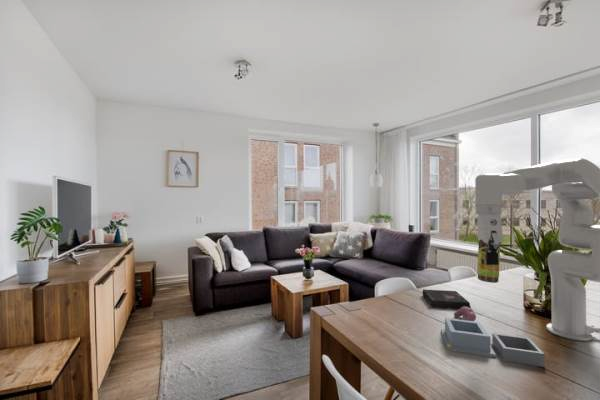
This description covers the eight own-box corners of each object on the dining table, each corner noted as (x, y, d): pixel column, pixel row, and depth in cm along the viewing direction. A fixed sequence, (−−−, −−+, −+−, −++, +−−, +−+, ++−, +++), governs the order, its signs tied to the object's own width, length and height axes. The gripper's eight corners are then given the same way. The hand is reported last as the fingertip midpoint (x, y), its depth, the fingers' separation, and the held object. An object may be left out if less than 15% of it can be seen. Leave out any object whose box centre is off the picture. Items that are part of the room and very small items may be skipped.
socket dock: (482, 337, 102) (482, 321, 102) (496, 357, 89) (495, 339, 89) (441, 331, 107) (440, 316, 107) (447, 350, 94) (447, 332, 94)
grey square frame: (528, 349, 94) (528, 337, 94) (544, 367, 84) (544, 353, 84) (492, 344, 97) (492, 333, 97) (503, 360, 87) (503, 348, 87)
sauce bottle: (479, 282, 93) (479, 223, 93) (475, 277, 99) (475, 222, 99) (502, 284, 90) (502, 224, 91) (497, 279, 96) (497, 222, 96)
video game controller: (471, 330, 111) (480, 315, 111) (460, 324, 112) (469, 309, 111) (462, 320, 121) (470, 306, 120) (452, 314, 122) (460, 301, 121)
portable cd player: (470, 311, 128) (470, 302, 128) (431, 308, 131) (431, 300, 131) (457, 298, 144) (457, 291, 144) (422, 296, 147) (422, 289, 147)
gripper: (512, 211, 85) (512, 268, 85) (491, 209, 102) (491, 258, 102) (484, 210, 88) (484, 267, 87) (468, 209, 104) (468, 256, 104)
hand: (488, 261), depth 95 cm, fingers closed on sauce bottle, 6 cm apart
